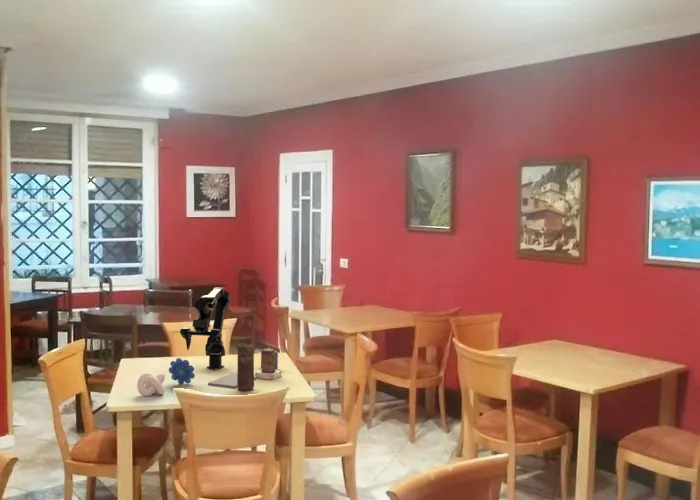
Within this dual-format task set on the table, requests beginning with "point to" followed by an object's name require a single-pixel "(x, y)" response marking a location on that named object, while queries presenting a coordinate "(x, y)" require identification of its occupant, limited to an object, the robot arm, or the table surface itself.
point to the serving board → (227, 381)
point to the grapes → (181, 371)
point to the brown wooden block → (268, 361)
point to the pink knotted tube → (150, 384)
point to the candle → (245, 367)
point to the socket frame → (268, 374)
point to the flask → (275, 359)
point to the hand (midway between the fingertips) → (197, 350)
